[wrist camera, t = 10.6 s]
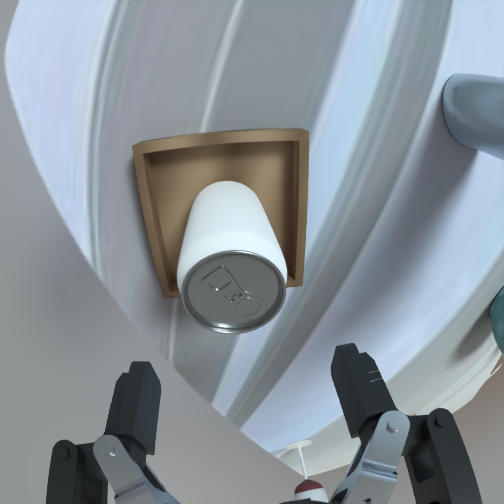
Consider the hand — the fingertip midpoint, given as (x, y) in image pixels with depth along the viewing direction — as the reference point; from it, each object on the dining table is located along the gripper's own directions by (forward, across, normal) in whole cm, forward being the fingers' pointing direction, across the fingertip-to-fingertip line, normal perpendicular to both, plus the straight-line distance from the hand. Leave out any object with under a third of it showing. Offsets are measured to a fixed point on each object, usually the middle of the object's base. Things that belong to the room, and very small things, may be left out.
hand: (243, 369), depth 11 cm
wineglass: (+17, -11, +65) cm, 69 cm away
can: (+16, 0, 0) cm, 17 cm away
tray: (+17, +1, 0) cm, 17 cm away
